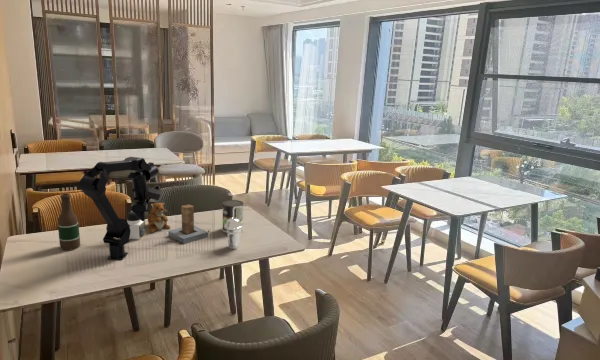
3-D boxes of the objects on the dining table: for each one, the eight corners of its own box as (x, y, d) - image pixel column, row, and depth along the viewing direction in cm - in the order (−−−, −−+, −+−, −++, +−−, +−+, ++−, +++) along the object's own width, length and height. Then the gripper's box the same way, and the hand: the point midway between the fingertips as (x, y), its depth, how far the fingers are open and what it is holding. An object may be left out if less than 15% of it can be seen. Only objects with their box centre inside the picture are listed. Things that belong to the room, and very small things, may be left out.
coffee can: (225, 234, 205) (225, 207, 202) (220, 227, 214) (220, 200, 211) (245, 232, 210) (246, 205, 206) (239, 225, 219) (240, 199, 215)
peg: (186, 238, 199) (186, 208, 195) (182, 236, 201) (181, 206, 198) (194, 236, 201) (193, 206, 198) (189, 234, 204) (188, 204, 200)
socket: (183, 243, 192) (183, 238, 192) (168, 235, 201) (168, 230, 200) (207, 236, 202) (207, 231, 201) (192, 229, 210) (192, 224, 210)
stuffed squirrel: (151, 233, 202) (150, 207, 199) (142, 224, 213) (140, 199, 210) (172, 229, 208) (171, 204, 205) (161, 221, 219) (160, 196, 216)
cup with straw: (232, 241, 198) (232, 200, 192) (247, 246, 193) (248, 204, 188) (220, 247, 190) (220, 205, 185) (235, 252, 186) (236, 209, 181)
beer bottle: (72, 252, 179) (66, 197, 173) (56, 249, 181) (50, 195, 175) (84, 245, 187) (79, 192, 181) (69, 242, 188) (63, 191, 182)
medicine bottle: (140, 239, 195) (138, 215, 192) (124, 239, 195) (123, 214, 192) (145, 234, 202) (144, 210, 199) (130, 233, 202) (129, 209, 199)
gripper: (155, 192, 178) (160, 224, 184) (161, 175, 195) (166, 205, 201) (127, 194, 176) (133, 227, 182) (136, 176, 193) (142, 207, 199)
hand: (145, 216), depth 191 cm, fingers open, 9 cm apart
